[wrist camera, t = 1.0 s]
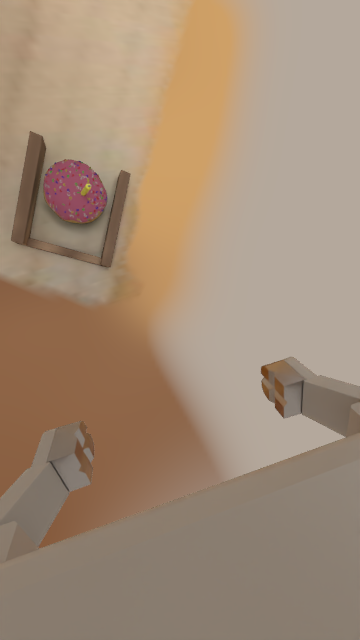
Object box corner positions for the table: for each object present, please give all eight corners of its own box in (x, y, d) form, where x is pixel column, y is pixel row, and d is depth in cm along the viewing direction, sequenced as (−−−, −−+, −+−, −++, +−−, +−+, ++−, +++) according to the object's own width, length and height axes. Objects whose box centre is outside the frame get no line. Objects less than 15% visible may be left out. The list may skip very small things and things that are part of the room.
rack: (17, 243, 38) (10, 240, 35) (34, 143, 37) (30, 131, 34) (108, 267, 44) (110, 266, 40) (126, 181, 42) (130, 173, 39)
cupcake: (112, 194, 42) (123, 166, 31) (90, 239, 42) (92, 226, 31) (61, 160, 38) (53, 115, 27) (37, 209, 38) (18, 183, 27)
